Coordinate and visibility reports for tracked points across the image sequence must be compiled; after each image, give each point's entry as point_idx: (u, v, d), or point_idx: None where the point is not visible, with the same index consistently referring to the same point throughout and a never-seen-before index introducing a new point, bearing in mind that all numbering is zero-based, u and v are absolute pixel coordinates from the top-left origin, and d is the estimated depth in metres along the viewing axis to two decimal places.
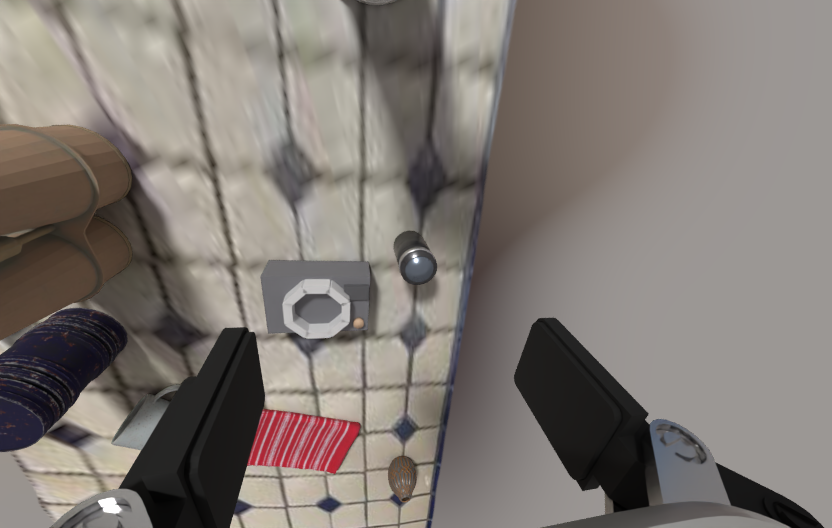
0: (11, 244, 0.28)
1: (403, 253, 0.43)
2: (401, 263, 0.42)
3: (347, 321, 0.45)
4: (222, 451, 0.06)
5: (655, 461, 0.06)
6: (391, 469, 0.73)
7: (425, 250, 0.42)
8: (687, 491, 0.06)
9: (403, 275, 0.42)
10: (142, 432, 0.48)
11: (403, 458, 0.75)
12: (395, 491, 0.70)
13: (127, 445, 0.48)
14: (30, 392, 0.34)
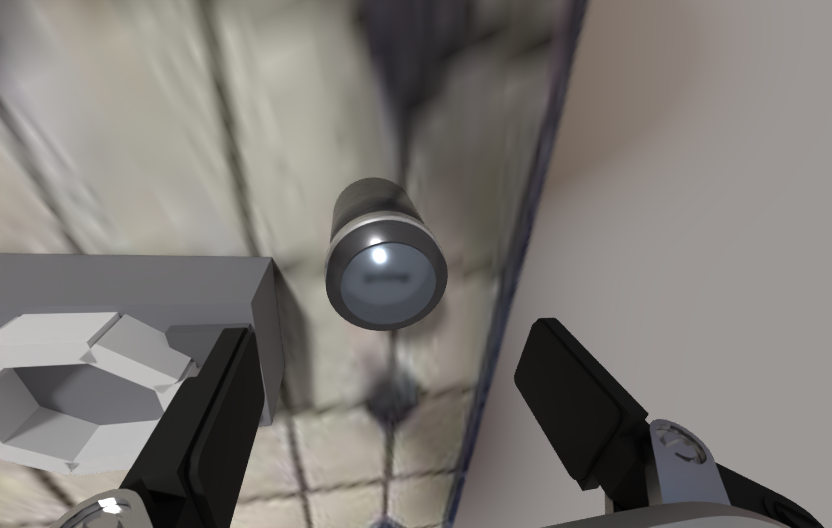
0: None
1: (339, 232, 0.13)
2: (327, 266, 0.12)
3: None
4: (222, 451, 0.06)
5: (655, 461, 0.06)
6: None
7: (409, 222, 0.13)
8: (687, 491, 0.06)
9: (337, 305, 0.13)
10: None
11: None
12: None
13: None
14: None
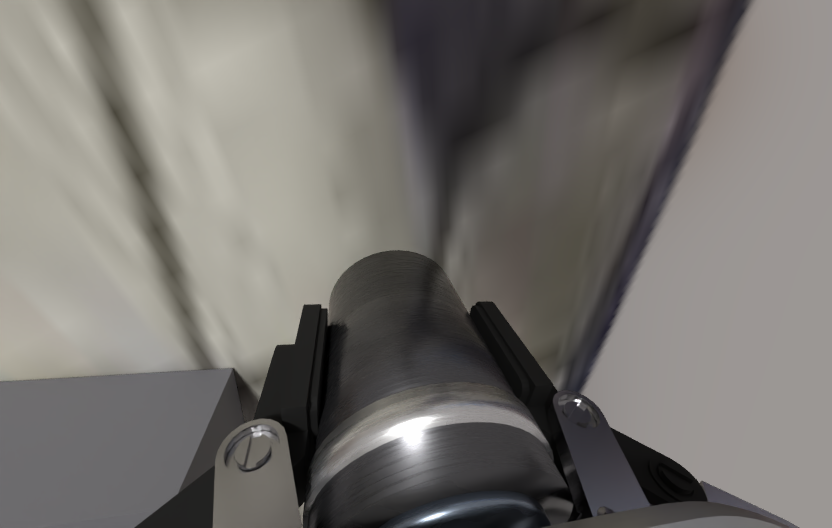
0: None
1: (336, 420, 0.06)
2: None
3: None
4: (320, 401, 0.08)
5: (565, 440, 0.07)
6: None
7: (497, 422, 0.05)
8: (570, 450, 0.06)
9: None
10: None
11: None
12: None
13: None
14: None
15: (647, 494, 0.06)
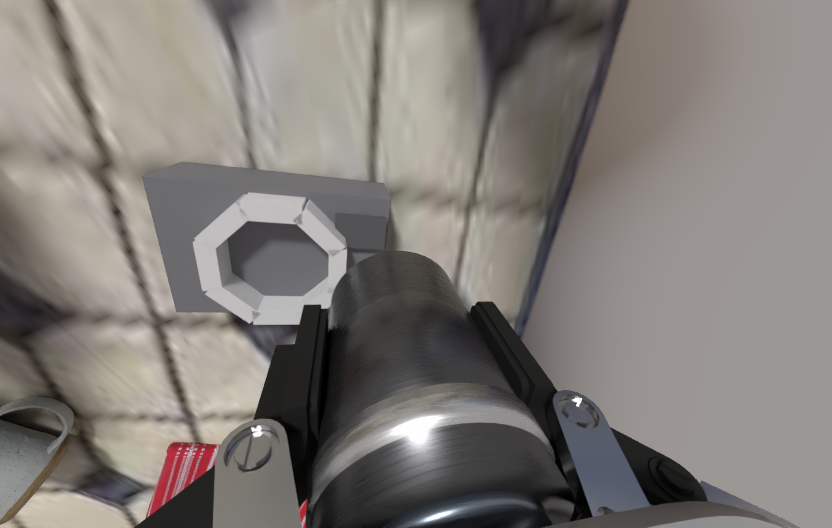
0: None
1: (338, 420, 0.06)
2: None
3: None
4: (321, 401, 0.08)
5: (565, 440, 0.07)
6: None
7: (498, 423, 0.05)
8: (570, 450, 0.06)
9: None
10: None
11: None
12: None
13: None
14: None
15: (647, 494, 0.06)
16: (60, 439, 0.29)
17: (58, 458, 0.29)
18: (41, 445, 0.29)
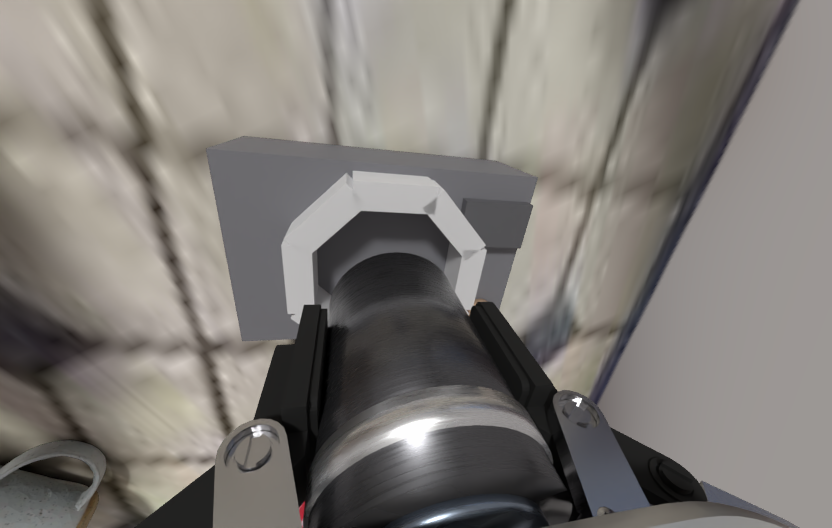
0: None
1: (336, 423, 0.06)
2: None
3: (466, 307, 0.16)
4: None
5: (565, 440, 0.07)
6: None
7: (496, 425, 0.05)
8: (570, 450, 0.06)
9: None
10: None
11: None
12: None
13: None
14: None
15: (647, 494, 0.06)
16: (91, 492, 0.24)
17: (89, 515, 0.24)
18: (69, 500, 0.23)
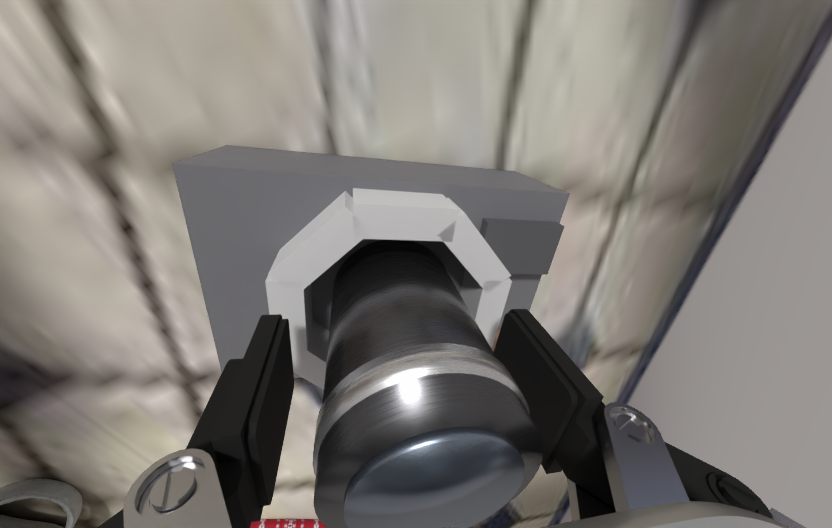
0: None
1: (341, 376, 0.07)
2: (318, 463, 0.06)
3: None
4: (269, 423, 0.07)
5: (613, 447, 0.07)
6: None
7: (477, 374, 0.06)
8: (631, 467, 0.06)
9: (336, 525, 0.07)
10: None
11: None
12: None
13: None
14: None
15: None
16: None
17: None
18: None
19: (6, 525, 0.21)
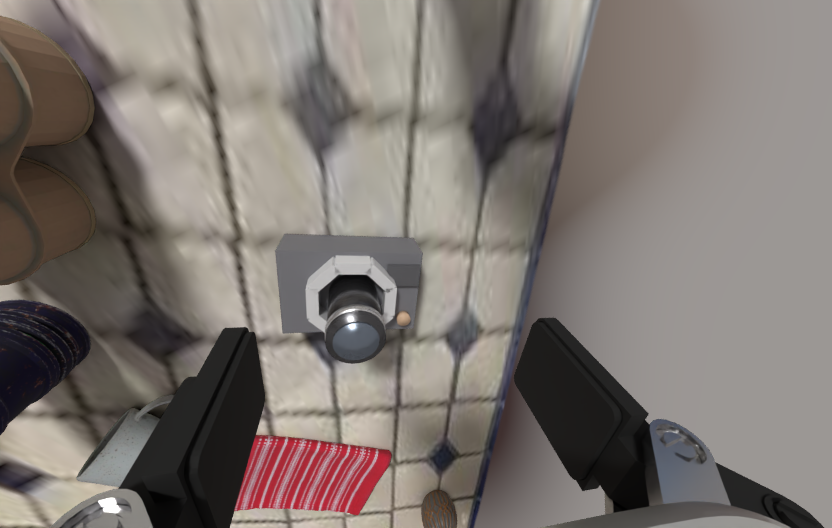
0: None
1: (332, 314, 0.27)
2: (326, 332, 0.26)
3: (391, 315, 0.33)
4: (222, 451, 0.06)
5: (655, 461, 0.06)
6: (426, 508, 0.59)
7: (366, 311, 0.26)
8: (687, 491, 0.06)
9: (330, 351, 0.26)
10: (121, 462, 0.34)
11: (439, 493, 0.61)
12: None
13: (99, 481, 0.34)
14: None
15: None
16: None
17: None
18: None
19: (159, 419, 0.39)
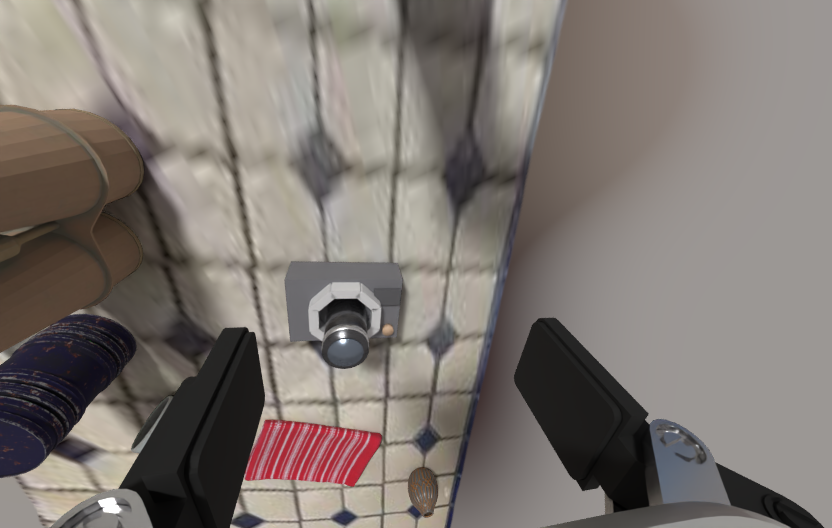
0: (8, 244, 0.24)
1: (327, 330, 0.35)
2: (323, 345, 0.34)
3: (377, 328, 0.41)
4: (222, 451, 0.06)
5: (655, 461, 0.06)
6: (412, 481, 0.69)
7: (353, 329, 0.34)
8: (687, 491, 0.06)
9: (326, 359, 0.34)
10: None
11: (424, 470, 0.71)
12: (416, 505, 0.66)
13: None
14: (30, 411, 0.30)
15: None
16: None
17: None
18: None
19: None
